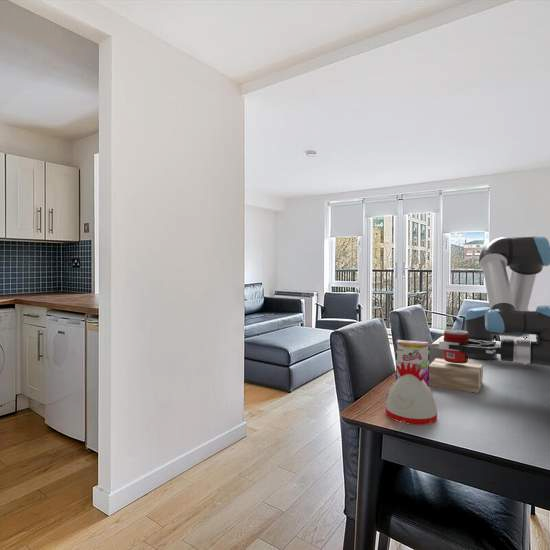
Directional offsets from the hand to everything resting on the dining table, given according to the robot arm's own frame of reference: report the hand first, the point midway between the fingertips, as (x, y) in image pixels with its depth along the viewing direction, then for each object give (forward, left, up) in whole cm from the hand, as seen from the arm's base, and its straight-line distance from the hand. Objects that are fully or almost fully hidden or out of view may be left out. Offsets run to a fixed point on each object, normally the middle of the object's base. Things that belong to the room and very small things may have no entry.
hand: (441, 343), depth 138 cm
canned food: (0, +5, -6) cm, 8 cm away
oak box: (0, +5, -14) cm, 15 cm away
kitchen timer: (+38, -1, -15) cm, 41 cm away
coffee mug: (-17, -5, -15) cm, 23 cm away
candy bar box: (+13, -7, -15) cm, 21 cm away
